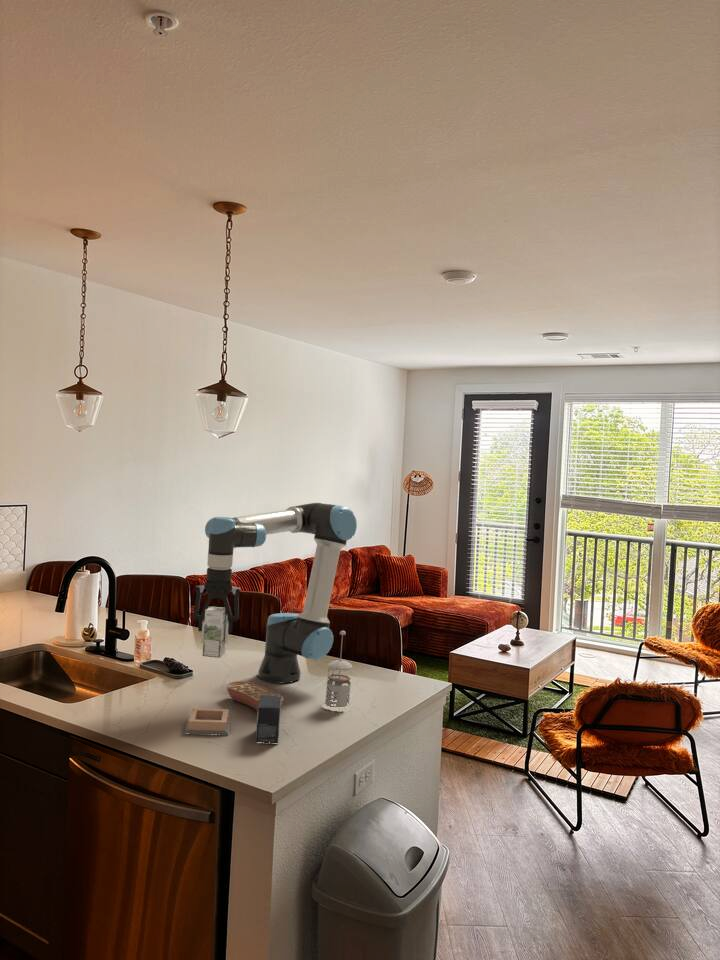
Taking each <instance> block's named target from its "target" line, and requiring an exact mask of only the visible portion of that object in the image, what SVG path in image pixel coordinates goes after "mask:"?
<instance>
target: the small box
mask: <svg viewBox="0 0 720 960" xmlns="http://www.w3.org/2000/svg"><path fill="white" fill-rule="evenodd" d="M281 696H282V695H281ZM281 696H275V695H260V700H259V706H258V710H257V714H256V715H257V716H256V729H255V731H256V732H255V743H256V742H262V743H263V742H264V743H269V742H270V743H278V744H279V739H280V738H279V736H280V723H281V722H280V721H281V720H280V719H281V708H282V706H281ZM280 707H281V708H280ZM278 738H279V739H278Z"/></svg>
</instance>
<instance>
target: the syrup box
mask: <svg viewBox="0 0 720 960" xmlns="http://www.w3.org/2000/svg"><path fill="white" fill-rule="evenodd" d="M204 620H205V622H204V638H203V643H202V657H208V658H217V659H218V658H219V659H220V658H222V657H223V656H224V655H225V654H226V644H225V632H226V621H228V617H227V613H226V609H225V607H220V606H219V607H218V606H208V609H206V610H205V616H204Z"/></svg>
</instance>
